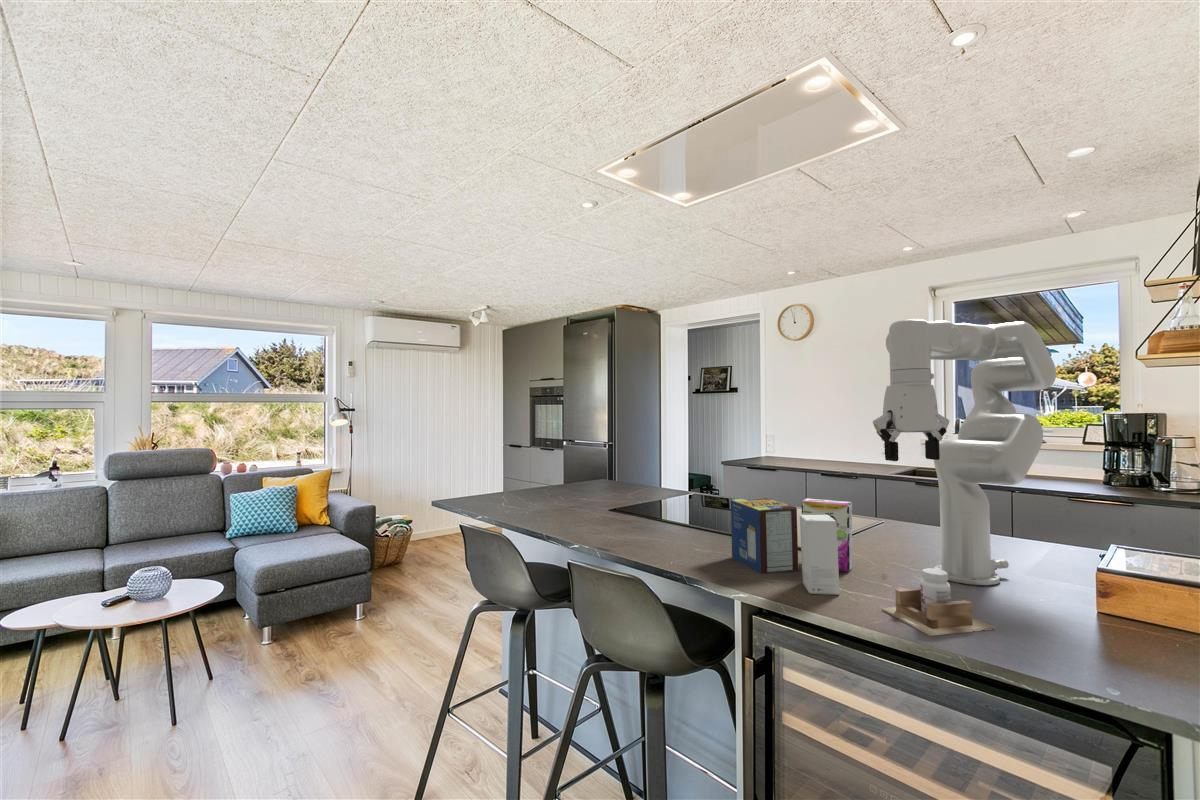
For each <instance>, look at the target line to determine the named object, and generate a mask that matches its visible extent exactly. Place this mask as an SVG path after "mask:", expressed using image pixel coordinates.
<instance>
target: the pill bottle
mask: <svg viewBox="0 0 1200 800" xmlns="http://www.w3.org/2000/svg"><path fill="white" fill-rule="evenodd" d="M921 576H922V579H921V580H920V584H919V585H920V587H919V588H921V612H923V613H925V614H927V610H926V604H928V603H940V602H952V596H951V595H952V594H951V592H952V591H951V590H952V588H951V585H950V583H949V580H948V574H947V572H945V571H943V570H939V569H934V568H931V567H930V568H929V567H928V568H927V567H926V568H923V569H922V574H921Z"/></svg>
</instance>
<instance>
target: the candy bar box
mask: <svg viewBox="0 0 1200 800" xmlns="http://www.w3.org/2000/svg"><path fill="white" fill-rule="evenodd" d="M801 515H829V516H830V517H831V518H833V519H834V520H835V521H836V525H837V547H838V570H839V572H845V573H850V572H851V570H852V568H853V567H854V565H853V563H854V562H853V503H852V502H851V501H841V500H831V499H821V498H819V499H818V498H807V497H806V498H804V499H802V500H801Z"/></svg>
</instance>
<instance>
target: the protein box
mask: <svg viewBox="0 0 1200 800" xmlns="http://www.w3.org/2000/svg"><path fill="white" fill-rule="evenodd" d="M797 512H798V507H797V506H794V505H791V504H787V503H783V502H780V501H776V500H773V499H770V498H766V497H758V498H755V497H753V498H738V499H736V498H735V499H730V516H731V517H730V524H731V525H730V526H731V527H730V528H731V558H732V557H733V558H732V559H734V558H735V560H736V561H737V560H738V561H737V562H739V561H740V562H739V563H741V564H742V563H743V564H742V565H744V564H745V565H744V566H746V567H748V568H749V567H750V568H749V569H751V570H752V571H754V570H755V571H754V572H756V573H758V574H759V573H760V574H761V575H763V573H765V574H775V573H776V574H777V573H785V572H786V573H787V572H796V571H797V572H798V571H799V553H798V552H799V549H798V548H799V546H798V545H799V544H798V543H799V542H798V538H799V537H798V513H797Z"/></svg>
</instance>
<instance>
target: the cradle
mask: <svg viewBox="0 0 1200 800" xmlns="http://www.w3.org/2000/svg"><path fill="white" fill-rule="evenodd" d="M926 610H927V614H925V613H923V612H921V587H912V588H911V587H909V588H900V589H899V588H898V589H897V588H896V589H895V606H890V607H882V608H881V611H883V612H884V613H886V614H888V615H890V616H892V617H894V618H896V619H897V618H898V619H897V620H900V621H902V622H903V623H905V624H907V625H909V626H911V627H913V628H915V629H917V630H919V631H921V632H922V633H924V634H926V635H928V636H931V637H932V636H941V635H951V634H952V635H953V634H962V633H963V634H964V633H972V632H973V631H975V632H982V630H985V631H991V630H990V629H995V630H996V627H995V626H993V625H991V624H988V623H986V622H984V621H981V620H979V619H977V618H975V617H973V602H971V601H969V600H967V599H965V600H964V599H963V600H955V601H954V600H953V601H952V600H951V602H940V603H928V604H926Z"/></svg>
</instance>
